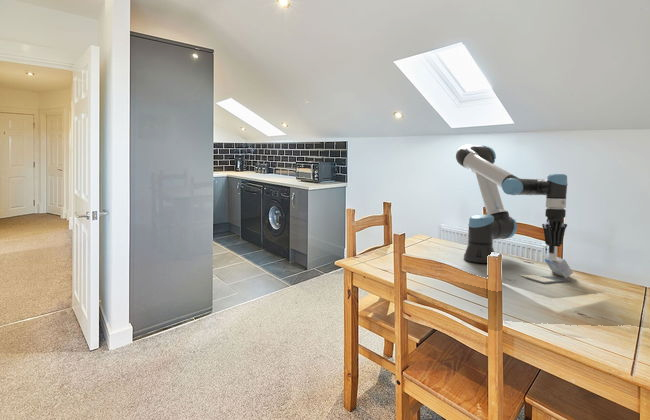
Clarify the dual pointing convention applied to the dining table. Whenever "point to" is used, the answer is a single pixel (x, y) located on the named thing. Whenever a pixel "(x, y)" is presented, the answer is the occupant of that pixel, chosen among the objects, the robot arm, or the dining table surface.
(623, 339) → the dining table surface
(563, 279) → the mat
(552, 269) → the medicine box
